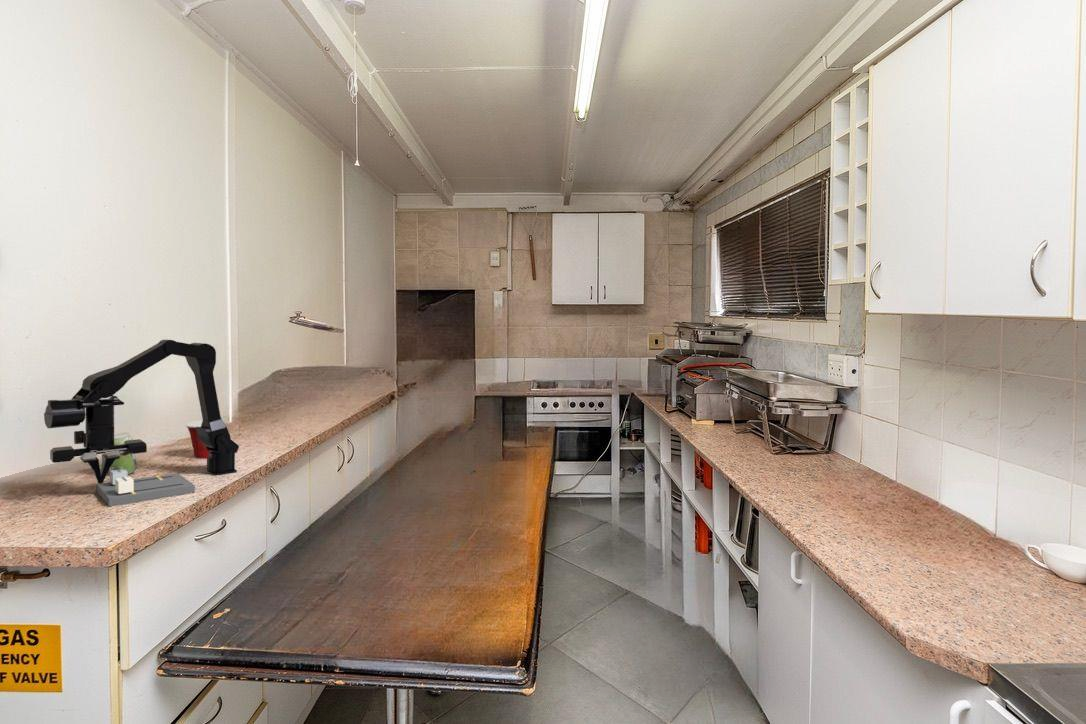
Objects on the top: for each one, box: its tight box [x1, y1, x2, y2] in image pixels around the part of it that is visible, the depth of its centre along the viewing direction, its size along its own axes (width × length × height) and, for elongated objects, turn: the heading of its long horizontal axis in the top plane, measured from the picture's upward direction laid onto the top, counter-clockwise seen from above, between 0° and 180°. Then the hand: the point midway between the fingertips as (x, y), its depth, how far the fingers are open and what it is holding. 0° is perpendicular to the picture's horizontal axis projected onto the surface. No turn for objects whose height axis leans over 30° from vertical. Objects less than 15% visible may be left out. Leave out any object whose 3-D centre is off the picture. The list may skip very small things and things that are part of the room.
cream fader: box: [115, 476, 134, 494], centre depth 135 cm, size 3×4×3 cm
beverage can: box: [110, 432, 138, 475], centre depth 157 cm, size 6×7×12 cm
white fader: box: [109, 469, 128, 485], centre depth 142 cm, size 3×4×3 cm
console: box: [96, 472, 196, 508], centre depth 142 cm, size 18×16×2 cm
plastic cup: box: [185, 419, 224, 459], centre depth 182 cm, size 11×11×12 cm
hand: (100, 483), depth 139 cm, fingers closed
